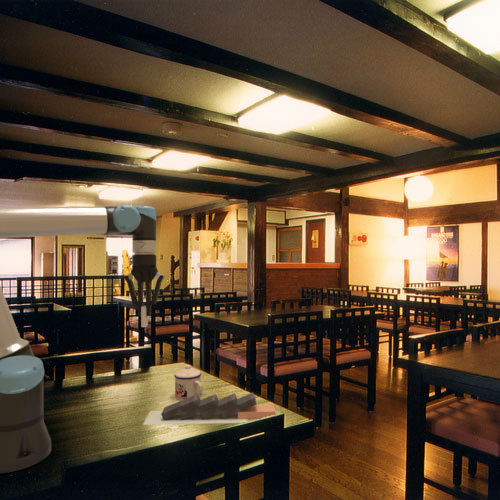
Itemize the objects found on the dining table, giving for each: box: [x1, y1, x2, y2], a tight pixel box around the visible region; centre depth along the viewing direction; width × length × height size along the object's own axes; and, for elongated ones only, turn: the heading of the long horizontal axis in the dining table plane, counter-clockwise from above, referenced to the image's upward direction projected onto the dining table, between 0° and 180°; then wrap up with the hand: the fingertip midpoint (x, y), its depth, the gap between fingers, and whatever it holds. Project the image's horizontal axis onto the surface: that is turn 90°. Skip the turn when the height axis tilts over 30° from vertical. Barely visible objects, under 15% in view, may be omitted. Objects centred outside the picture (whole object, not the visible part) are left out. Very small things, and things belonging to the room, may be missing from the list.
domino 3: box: [200, 393, 238, 420], centre depth 117 cm, size 2×5×11 cm
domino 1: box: [161, 394, 201, 420], centre depth 116 cm, size 2×5×11 cm
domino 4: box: [220, 392, 257, 419], centre depth 117 cm, size 2×5×11 cm
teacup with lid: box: [174, 364, 203, 402], centre depth 132 cm, size 12×9×12 cm
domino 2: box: [180, 393, 219, 420], centre depth 116 cm, size 2×5×11 cm
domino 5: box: [238, 404, 276, 420], centre depth 117 cm, size 2×5×11 cm
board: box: [142, 410, 248, 426], centre depth 116 cm, size 30×10×1 cm, turn 92°
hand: (144, 326), depth 126 cm, fingers closed
